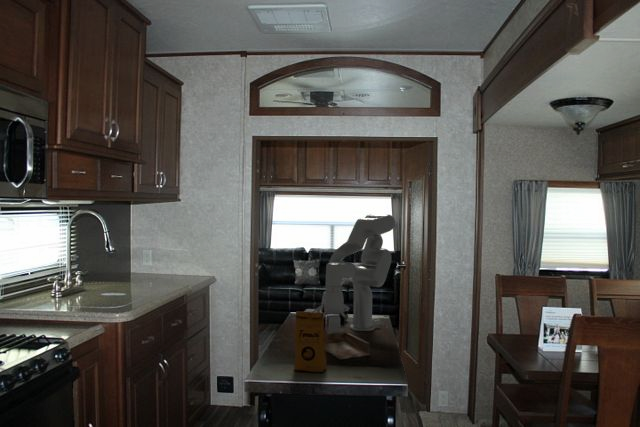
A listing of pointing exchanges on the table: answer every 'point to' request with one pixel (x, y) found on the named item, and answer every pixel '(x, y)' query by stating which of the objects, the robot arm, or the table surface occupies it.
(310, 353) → the coffee package
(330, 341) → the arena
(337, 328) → the small box
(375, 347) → the table surface
